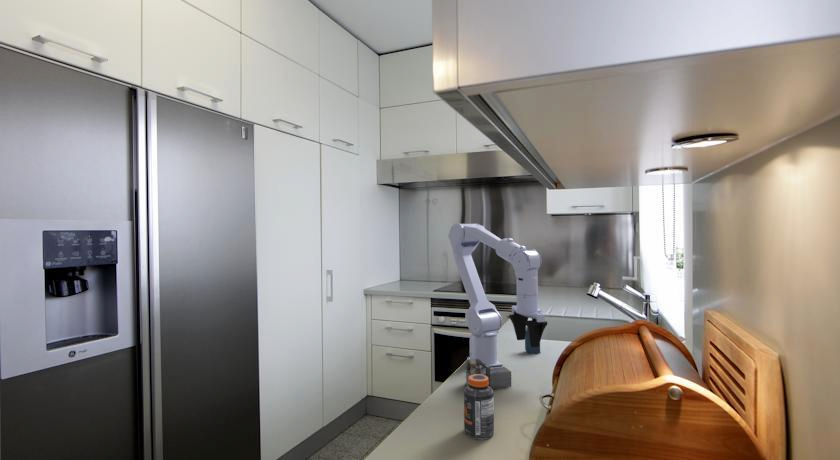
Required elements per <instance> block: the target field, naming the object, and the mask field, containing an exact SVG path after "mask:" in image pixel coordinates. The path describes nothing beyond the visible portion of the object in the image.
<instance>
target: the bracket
mask: <svg viewBox="0 0 840 460" xmlns="http://www.w3.org/2000/svg"><path fill="white" fill-rule="evenodd" d="M476 365H477V366H478V367H480V365H481V366H483V367H482V368H483V369H486V376H487V377H488V382H489V384H488V386H489V387H490V368H491V367H489V366H488V365H486V364H485V363H483V362H482V361H481V360H479V359H476Z"/></svg>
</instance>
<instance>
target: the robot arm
mask: <svg viewBox="0 0 840 460" xmlns="http://www.w3.org/2000/svg"><path fill="white" fill-rule="evenodd" d="M447 237H448V240H449V243H450V245H451V248H452V255H453V258H454V261H455V263H456V268H457V270H458V273H459V276H460V278H461V282H462V284H463V287H464V290H465V293H466V297H467V299H468V302H469V305H470V306H469V308H468V309H467V311H466V312H465V315H466V317H467V327H468V330H469V332H470V333H471V335H470V337H469V356H468V357H467V358H466V360H468V359H469V358H470V359H469V360H470V361H472V362H476V359H479V360H481V361H482V362H483V363H485V364H486V365H488V366H489V367H490V368H491V367H497V366H498V367H501V366H503V363H502V362H501V361H499V360H498V334H499V332H500V330H501V328H502V326H503V317H502V315H501V314H500V313H499V311H498V310H497V308H496V305H495V304H493V303H492V302H490V301H489V300H488V298H487V296H486V292H485V290H484V287H483V284H482V282H481V279H480V277H479V274H478V270H477V268H476V265H475V261H474V259H473V256H472V254H473V252H474V251H475V250H476V248H477V247H478V245H479V244H480V243H483V244H484V245H486V246H488V247H489V248H492V249H493V250H495V253H496V255H497V256H498V257H500V258H502V259H503V260H505V261H507V262H508V263H509V264H511V266H512V268H513V270H514V276H515V278H516V283H515V284H516V305H511V313H513V314H509V315H508V317H509V319H510V321H511V324H512V325H513V328H514V334H515V337H516V340H517V341H525V335H526V327H527V328H528V331H529V337H530V344H531V347H539V345H540V346H541V339H542V337H543V334H544V332H545V330H546V329H545V328H546V327H547V326H548V320H547V321H546V314H545V313H542V309H541V308H539V291H538V290H539V284H538V283H539V281H538V280H539V279H538V278H539V276H538V275H539V273H538V271H539V269H540V268H541V266H542V263H543V259H542V256H541V254H540V253H539V251H537V250H536V249H527V247H526V246H524V245H520V244H518V243H517V242H515V241H514V239H513V238H511V237H509V238H502V239H501V238H500V237H498V236H496V235H495V234H494V233H492V232H491V231H489V230H488V229H486V228H485V226H484V225H481V224H479V223H476V222H475V223H458V222H457V223H453V224H452V225H451V227H450V229H449V232H448V236H447ZM529 319H530V320H529ZM480 368H481V369H482V368H484V367H483V366H481V365H480Z"/></svg>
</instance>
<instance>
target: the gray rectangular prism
mask: <svg viewBox="0 0 840 460" xmlns="http://www.w3.org/2000/svg"><path fill="white" fill-rule="evenodd" d="M474 374H476V369H471V370H469V371H467V370H465V385H466V386H465V387H467V386H468V385H469V384H468V378H469V376H470V375H474ZM481 375H485V376H486V369H485V368H481ZM490 387H491V388H492V390H495V389H504V388H512V370H510V369H509V368H506V367H505V366H498V367H492V368H491V367H490Z"/></svg>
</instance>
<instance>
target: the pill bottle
mask: <svg viewBox="0 0 840 460" xmlns="http://www.w3.org/2000/svg"><path fill="white" fill-rule="evenodd" d="M468 384H469V385H468V386H465V387H464V390H463V417H464V418H463V431H464V433H465V435H466V436H467V437H469V438H471V439H475V440H487V439H490V438H492V437H493V436H494V434H495V415H494V413H495V412H494V411H495V409H494V408H495V405H494V389H492V388H491V387H489V386H488V384H489V382H488V377H487V376H485V375H481V374H474V375H470V376H469V378H468Z"/></svg>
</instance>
